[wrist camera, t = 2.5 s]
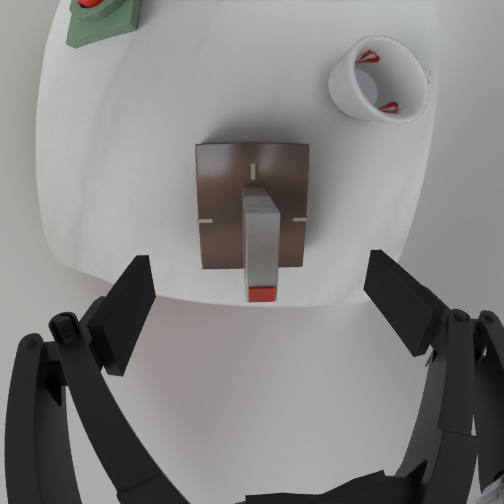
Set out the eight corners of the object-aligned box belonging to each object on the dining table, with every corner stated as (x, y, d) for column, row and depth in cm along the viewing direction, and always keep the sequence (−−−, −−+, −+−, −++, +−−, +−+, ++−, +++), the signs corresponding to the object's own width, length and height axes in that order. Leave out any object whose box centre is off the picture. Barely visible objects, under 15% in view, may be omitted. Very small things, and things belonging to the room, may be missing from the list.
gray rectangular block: (241, 187, 24) (245, 214, 15) (264, 187, 24) (281, 214, 15) (242, 250, 26) (246, 305, 17) (263, 249, 26) (277, 304, 17)
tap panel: (198, 144, 25) (193, 144, 22) (302, 144, 25) (311, 144, 22) (204, 258, 29) (200, 271, 26) (297, 255, 30) (303, 268, 27)
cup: (389, 51, 21) (430, 34, 13) (412, 113, 24) (458, 112, 16) (306, 64, 22) (332, 38, 14) (334, 134, 25) (370, 133, 17)
